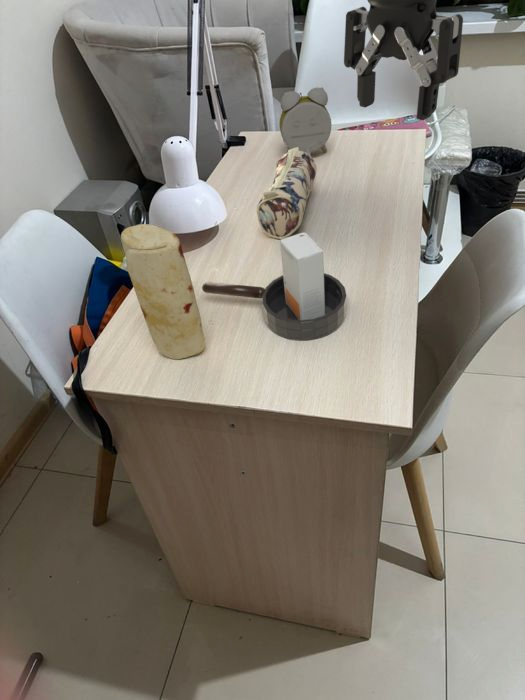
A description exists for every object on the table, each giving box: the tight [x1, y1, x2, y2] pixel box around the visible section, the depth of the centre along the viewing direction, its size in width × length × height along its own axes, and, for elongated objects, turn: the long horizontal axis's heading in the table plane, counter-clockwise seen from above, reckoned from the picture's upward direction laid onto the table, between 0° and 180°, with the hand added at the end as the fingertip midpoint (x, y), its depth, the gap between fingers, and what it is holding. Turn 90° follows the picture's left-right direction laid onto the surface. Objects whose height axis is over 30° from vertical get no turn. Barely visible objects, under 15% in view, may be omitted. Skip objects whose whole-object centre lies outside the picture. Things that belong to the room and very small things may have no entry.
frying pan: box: [261, 272, 348, 342], centre depth 79 cm, size 13×13×4 cm
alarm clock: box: [279, 86, 333, 157], centre depth 118 cm, size 12×7×15 cm, turn 94°
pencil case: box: [256, 147, 317, 240], centre depth 101 cm, size 22×8×10 cm, turn 168°
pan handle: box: [201, 281, 265, 300], centre depth 82 cm, size 11×2×2 cm, turn 73°
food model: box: [120, 223, 206, 360], centre depth 71 cm, size 10×7×20 cm
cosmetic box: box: [279, 231, 325, 320], centre depth 76 cm, size 6×4×12 cm
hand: (394, 111), depth 63 cm, fingers open, 8 cm apart
